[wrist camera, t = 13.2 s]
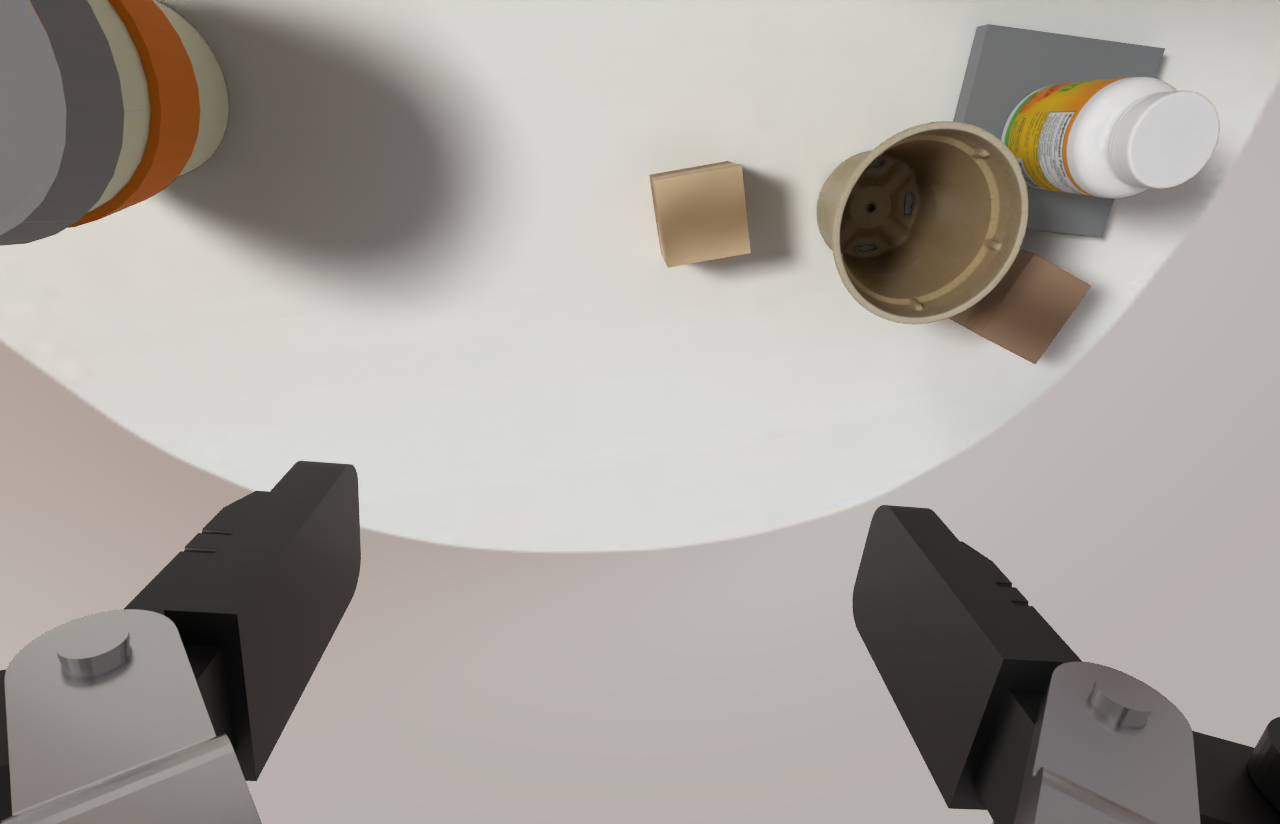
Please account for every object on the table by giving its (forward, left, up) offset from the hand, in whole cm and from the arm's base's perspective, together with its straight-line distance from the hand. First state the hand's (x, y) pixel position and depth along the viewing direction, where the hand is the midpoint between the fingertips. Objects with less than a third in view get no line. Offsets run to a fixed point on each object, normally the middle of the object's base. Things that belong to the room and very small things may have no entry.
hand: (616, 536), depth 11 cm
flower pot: (-3, +15, -33) cm, 37 cm away
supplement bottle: (-8, +24, -32) cm, 41 cm away
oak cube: (-2, +5, -33) cm, 34 cm away
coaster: (-8, +24, -33) cm, 42 cm away
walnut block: (+1, +24, -33) cm, 41 cm away
